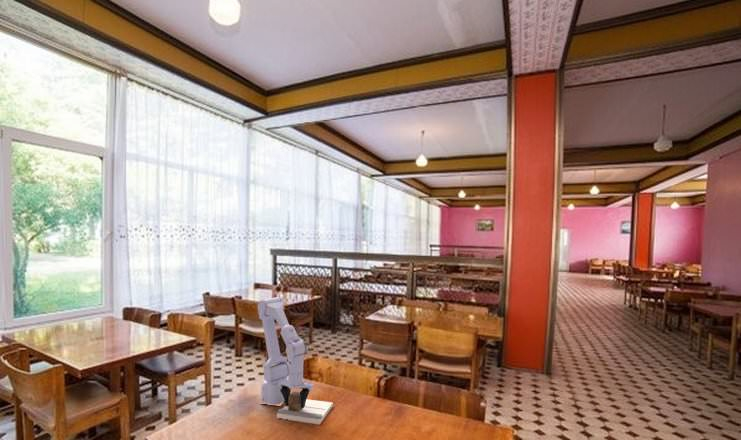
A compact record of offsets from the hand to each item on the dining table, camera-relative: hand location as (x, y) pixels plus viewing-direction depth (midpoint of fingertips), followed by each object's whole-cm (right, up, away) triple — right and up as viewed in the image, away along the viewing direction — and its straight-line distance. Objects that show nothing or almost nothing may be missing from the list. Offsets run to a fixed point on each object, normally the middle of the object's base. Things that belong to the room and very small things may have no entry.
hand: (295, 406), depth 133 cm
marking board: (+4, -3, +1) cm, 5 cm away
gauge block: (0, -1, 0) cm, 1 cm away
